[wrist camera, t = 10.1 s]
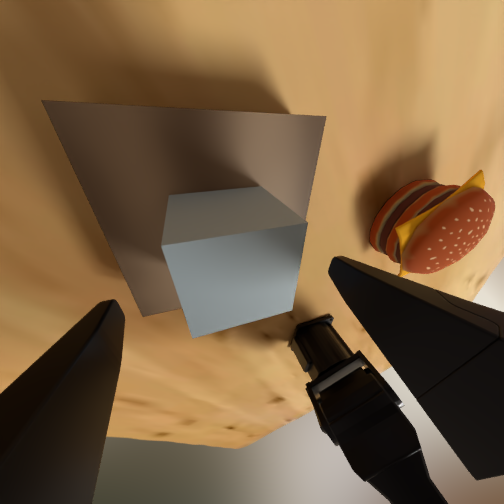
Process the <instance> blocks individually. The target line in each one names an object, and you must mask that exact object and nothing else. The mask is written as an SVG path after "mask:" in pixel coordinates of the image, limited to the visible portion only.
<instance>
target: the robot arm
mask: <svg viewBox="0 0 504 504" xmlns="http://www.w3.org/2000/svg"><path fill="white" fill-rule="evenodd" d="M328 274H329V276H330V278H331V279H332V281H333V283H334V284H335V286H336V288H337V289H338V291H339V293H340V294H341V296H342V298H343V299H344V301H345V302H346V304H347V305H348V307H349V308H350V309H351V311H352V312H353V313H354V315H355V316H356V318H357V319H358V320H359V322H360V323H361V324H362V326H363V327H364V329H365V330H366V331H367V333H368V334H369V335H370V337H371V338H372V339H373V341H374V342H375V344H376V345H377V346H378V348H379V349H380V350H381V352H382V353H383V355H384V356H385V357H386V359H387V360H388V361H389V363H390V364H391V365H392V367H393V368H394V370H395V371H396V372H397V374H398V375H399V376H400V378H401V379H402V381H403V382H404V383H405V384H406V386H407V387H408V389H409V390H410V391H411V393H412V394H413V396H414V397H415V398H416V399H417V401H418V403H419V404H420V405H421V407H422V408H423V410H424V411H425V412H426V414H427V415H428V416H429V418H430V419H431V420H432V422H433V423H434V425H435V426H436V427H437V429H438V430H439V431H440V433H441V434H442V436H443V437H444V438H445V440H446V441H447V442H448V444H449V445H450V446H451V448H452V449H453V451H454V452H455V453H456V455H457V456H458V457H459V459H460V460H461V461H462V463H463V464H464V466H465V467H466V468H467V470H468V471H469V472H470V473H471V475H472V476H473V477H474V478H475V479H476V480H481V479H486V478H491V477H496V476H501V475H504V312H501V311H498V310H495V309H492V308H489V307H486V306H483V305H479V304H476V303H473V302H470V301H467V300H464V299H461V298H459V297H456V296H453V295H450V294H447V293H444V292H442V291H439V290H434V289H433V288H430V287H428V286H425V285H422V284H419V283H416V282H414V281H411V280H408V279H405V278H402V277H400V276H397V275H394V274H391V273H389V272H386V271H383V270H380V269H377V268H375V267H372V266H369V265H366V264H364V263H361V262H358V261H355V260H352V259H350V258H347V257H344V256H337V257H334V258H333V259H332V261H331V264H330V267H329V270H328ZM333 319H334V318H333V317H332V316H327V317H324V318H320V319H317V320H314V321H310V322H307V323H303V324H300V325H298V326H297V327H296V329H295V333H294V337H293V340H292V344H291V350H292V351H294V353H295V355H296V357H297V359H298V361H299V363H300V365H301V367H302V369H303V371H304V372H308V373H309V375H310V377H311V379H312V381H311V382H308V383H307V384H306V386H307V388H306V391H307V393H308V395H309V397H310V399H311V402H312V404H313V407H314V410H315V413H316V416H317V419H318V422H319V425H320V428H321V430H322V431H323V432H324V433H326V434H327V435H328V436H329V437H330V438H331V440H332V442H333V443H334V444H335V445H336V446H338V445H339V446H340V447H341V449H342V451H343V453H344V455H345V457H346V458H347V460H348V462H349V464H350V465H351V468H352V469H353V470H354V472H355V473H356V474H357V475H358V476H359V477H360V478H361V479H362V480H363V481H365V482H366V481H367V482H369V483H370V484H371V485H372V486H373V487H374V488H375V489H376V490H377V491H379V492H380V493H381V494H382V495H383V496H384V497H385V498H386V499H388V500H389V501H390V503H391V504H448V503H447V501H446V500H445V498H444V497H443V496H442V494H441V493H440V492H439V490H438V489H437V487H436V486H435V484H434V483H433V482H432V480H431V479H430V476H429V473H428V469H427V466H426V463H425V459H424V456H423V453H422V450H421V446H420V443H419V440H418V436H417V433H416V430H415V428H414V427H413V425H412V424H411V423H410V421H409V420H408V419H407V418H406V416H405V415H404V414H403V412H402V411H401V410H400V408H401V407H403V406H404V404H403V403H402V401H401V400H400V398H399V397H398V396H397V394H396V393H395V392H394V390H393V389H392V388H391V387H390V385H389V384H388V383H387V382H386V381H385V379H384V378H383V377H382V376H381V375H380V374H379V372H378V371H377V370H376V369H375V368H374V367H373V365H372V364H371V363H370V362H369V361H368V360H367V358H366V357H365V356H364V355H363V354H362V353H361V351H360V350H359V351H357V352H356V353H355V354H354V353H353V352H352V351H351V350H350V348H349V347H348V346H347V344H346V343H345V342H344V340H343V339H342V338H341V337H340V335H339V334H338V333H337V331H336V330H335V329H334V328H333V326H332V325H331V324H332V321H333ZM124 327H125V316H124V313H123V311H122V309H121V308H120V306H119V304H118V302H117V301H116V300H115V299H111V300H106V301H102V302H100V303H98V304H97V305H96V306H95V307H94V308H93V309H92V310H91V311H90V312H88V313H87V314H86V315H85V316H84V317H83V318H82V319H81V320H80V321H79V322H78V323H77V324H75V325H74V326H73V327H72V328H71V329H70V330H69V331H68V332H67V333H66V334H65V335H64V336H62V337H61V338H60V339H59V340H58V341H57V342H56V343H55V344H54V345H53V346H52V347H51V348H49V349H48V350H47V351H46V352H45V353H44V354H43V355H42V356H41V357H40V358H39V359H37V360H36V361H35V362H34V363H33V364H32V365H31V366H30V367H29V368H28V369H27V370H26V371H24V372H23V373H22V374H21V375H20V376H19V377H18V378H17V379H16V380H15V381H14V382H13V383H11V384H10V385H9V386H8V387H7V388H6V389H5V390H4V391H3V392H2V393H1V394H0V504H92V501H93V496H94V491H95V486H96V482H97V477H98V473H99V468H100V463H101V458H102V454H103V449H104V444H105V439H106V434H107V430H108V425H109V420H110V415H111V411H112V406H113V401H114V396H115V392H116V387H117V382H118V377H119V372H120V367H121V360H122V350H123V338H124ZM362 366H364V367H365V369H364V370H363V369H362V368H361V367H362Z"/></svg>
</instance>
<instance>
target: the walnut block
mask: <svg viewBox="0 0 504 504" xmlns="http://www.w3.org/2000/svg"><path fill="white" fill-rule="evenodd" d="M41 101H42V103H43V105H44V107H45V109H46V111H47V113H48V116H49V118H50V120H51V122H52V124H53V126H54V128H55V131H56V133H57V135H58V137H59V139H60V141H61V143H62V145H63V148H64V150H65V152H66V154H67V156H68V158H69V160H70V163H71V165H72V167H73V169H74V171H75V173H76V175H77V177H78V180H79V182H80V184H81V186H82V188H83V190H84V192H85V195H86V197H87V199H88V201H89V203H90V205H91V207H92V209H93V212H94V214H95V216H96V218H97V220H98V222H99V224H100V227H101V229H102V231H103V233H104V235H105V237H106V239H107V241H108V244H109V246H110V248H111V250H112V252H113V254H114V256H115V259H116V261H117V263H118V265H119V267H120V269H121V271H122V273H123V276H124V278H125V280H126V282H127V284H128V286H129V288H130V290H131V293H132V295H133V297H134V299H135V301H136V303H137V305H138V308H139V310H140V312H141V314H142V316H143V317H145V316H149V315H154V314H158V313H162V312H167V311H171V310H176V309H180V308H182V306H181V303H180V300H179V297H178V294H177V291H176V288H175V285H174V282H173V280H172V277H171V274H170V271H169V268H168V265H167V262H166V259H165V256H164V253H163V250H162V247H161V243H162V237H163V230H164V224H165V217H166V211H167V204H168V198H169V195H175V194H186V193H196V192H206V191H216V190H227V189H237V188H247V187H258V186H262V187H263V188H264V189H266V190H267V191H268V192H269V193H271V194H272V195H273V196H274V197H276V198H277V199H278V200H280V201H281V202H282V203H283V204H285V205H286V206H287V207H289V208H290V209H291V210H292V211H294V212H295V213H296V214H298V215H299V216H300V217H301V218H303V219H304V220H306V215H307V210H308V205H309V200H310V195H311V190H312V185H313V180H314V175H315V170H316V165H317V160H318V155H319V150H320V145H321V140H322V135H323V130H324V126H325V121H326V116H312V115H294V114H276V113H258V112H240V111H223V110H205V109H187V108H169V107H151V106H134V105H116V104H98V103H80V102H62V101H45V100H41Z"/></svg>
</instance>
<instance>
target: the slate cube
mask: <svg viewBox="0 0 504 504" xmlns="http://www.w3.org/2000/svg"><path fill="white" fill-rule="evenodd" d="M307 225H308V222H306V221H305V220H304V219H303V218H301V217H300V216H299V215H298V214H296V213H295V212H294V211H292V210H291V209H290V208H289V207H287V206H286V205H285V204H283V203H282V202H281V201H280V200H278V199H277V198H276V197H274V196H273V195H272V194H271V193H269V192H268V191H267V190H266V189H264V188H263V187H262V186H258V187H247V188H237V189H227V190H216V191H206V192H196V193H186V194H175V195H169V198H168V204H167V211H166V217H165V224H164V230H163V237H162V243H161V247H162V250H163V253H164V256H165V259H166V262H167V265H168V268H169V271H170V274H171V277H172V280H173V282H174V285H175V288H176V291H177V294H178V297H179V300H180V303H181V306H182V309H183V312H184V315H185V318H186V321H187V324H188V327H189V330H190V332H191V335H192V338H196V337H200V336H203V335H207V334H210V333H214V332H217V331H221V330H225V329H228V328H232V327H235V326H239V325H242V324H246V323H249V322H253V321H256V320H260V319H264V318H267V317H271V316H274V315H278V314H281V313H285V312H288V311H292V308H293V302H294V297H295V291H296V286H297V280H298V275H299V269H300V264H301V258H302V253H303V247H304V242H305V236H306V231H307Z"/></svg>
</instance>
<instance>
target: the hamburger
mask: <svg viewBox="0 0 504 504" xmlns="http://www.w3.org/2000/svg"><path fill="white" fill-rule="evenodd" d="M484 185H485V181H484V175H483V171H482V170H479V171H478V172H477V173H476V174H475V175H474V176H472V177H471V178H470V179H469V180H468V181H467V182H466V183H464V184H463V185H462V186H461V187H460V186H457V185H447V186H445V185H442V184H439V183H437V182H436V181H434V180H419V181H414V182H412V183H410V184H408V185H406V186H404V187H403V188H401V189H400V190H399V191H398V192H397V193H395V194H394V195H393V196H392V197H391V198H390V199H389V200H388V201H387V202H386V203H385V205H384V206H383V207H382V209H381V210H380V211H379V213H378V214H377V216H376V218H375V220H374V223H373V225H372V228H371V230H370V242H371V244H372V246H373V248H374V249H375V250H376V251H378V252H381V253H384V254H386V255H388V256H389V258H390V259H391V260H392V261H393V262H396V263H400V264H401V265H400V273H399V274H398V276H400V277H402V276H404V275H406V274H408V273H410V272H411V273H421V274H429V273H434V272H436V271H439V270H441V269H443V268H445V267H447V266H449V265H451V264H453V263H455V262H457V261H459V260H460V259H461V258H463V257H464V256H465V255H466V254H467V253H469V252H470V251H471V250H472V249H473V248H474V247H475V246H476V245H477V244H478V243H479V241H480V240H481V239H482V238H483V236H484V235H485V234H486V233H487V231H488V228H489V226H490V223H491V220H492V217H493V215H494V211H495V202H494V200H493V198H492V197H491V196H490V195H489V194H488V193H487V192H486V191H485V190H483V189H484Z"/></svg>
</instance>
